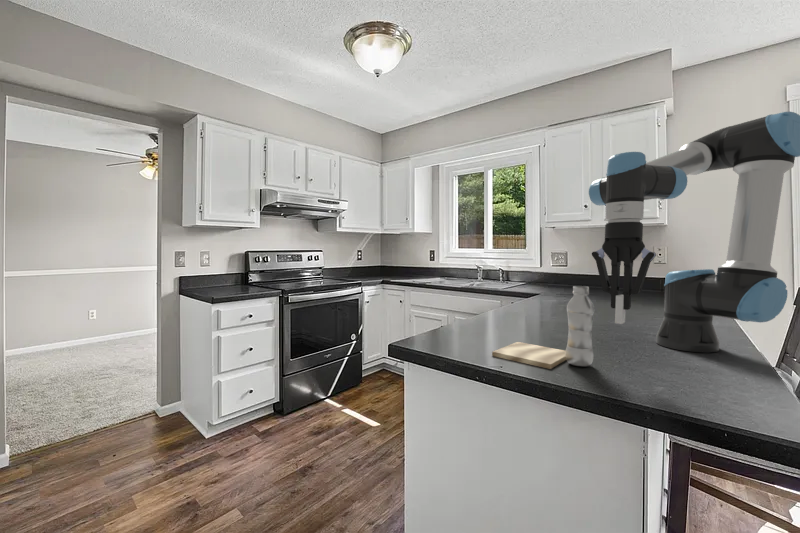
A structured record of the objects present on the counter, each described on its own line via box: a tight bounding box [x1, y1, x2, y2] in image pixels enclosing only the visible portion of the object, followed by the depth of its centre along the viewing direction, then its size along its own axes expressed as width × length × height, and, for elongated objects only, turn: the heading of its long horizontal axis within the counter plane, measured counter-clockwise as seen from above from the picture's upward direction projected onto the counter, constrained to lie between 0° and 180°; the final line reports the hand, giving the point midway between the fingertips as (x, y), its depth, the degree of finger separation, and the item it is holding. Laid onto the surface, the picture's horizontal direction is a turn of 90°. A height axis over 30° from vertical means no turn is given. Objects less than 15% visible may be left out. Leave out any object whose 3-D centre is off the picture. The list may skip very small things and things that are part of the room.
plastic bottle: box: [565, 285, 596, 367], centre depth 93 cm, size 6×7×20 cm
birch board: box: [491, 341, 567, 370], centre depth 102 cm, size 16×15×1 cm
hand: (620, 322), depth 87 cm, fingers closed
